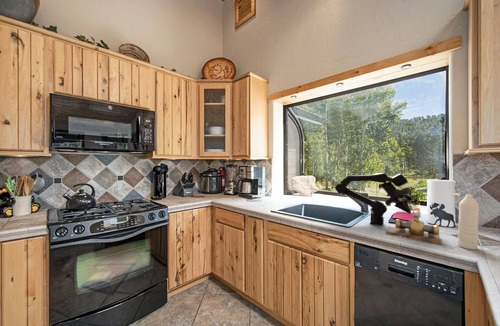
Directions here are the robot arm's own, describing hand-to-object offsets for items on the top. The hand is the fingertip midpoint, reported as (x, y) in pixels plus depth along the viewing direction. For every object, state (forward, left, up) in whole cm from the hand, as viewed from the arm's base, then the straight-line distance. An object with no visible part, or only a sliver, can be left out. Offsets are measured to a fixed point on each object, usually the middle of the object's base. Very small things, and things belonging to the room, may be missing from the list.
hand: (410, 213), depth 120 cm
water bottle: (+21, -8, -11) cm, 25 cm away
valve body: (+3, -7, -9) cm, 12 cm away
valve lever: (+3, -2, 0) cm, 4 cm away
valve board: (+1, -7, -11) cm, 13 cm away
